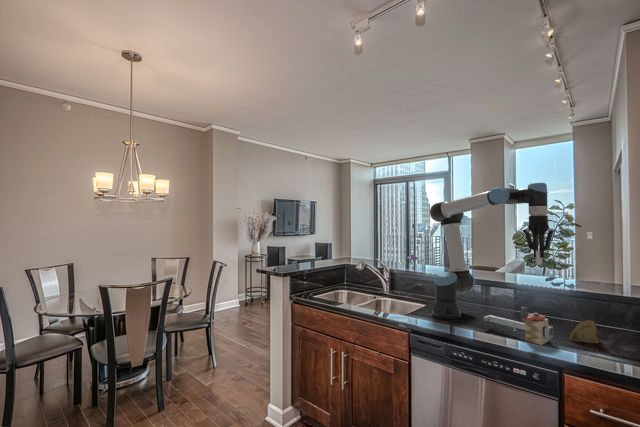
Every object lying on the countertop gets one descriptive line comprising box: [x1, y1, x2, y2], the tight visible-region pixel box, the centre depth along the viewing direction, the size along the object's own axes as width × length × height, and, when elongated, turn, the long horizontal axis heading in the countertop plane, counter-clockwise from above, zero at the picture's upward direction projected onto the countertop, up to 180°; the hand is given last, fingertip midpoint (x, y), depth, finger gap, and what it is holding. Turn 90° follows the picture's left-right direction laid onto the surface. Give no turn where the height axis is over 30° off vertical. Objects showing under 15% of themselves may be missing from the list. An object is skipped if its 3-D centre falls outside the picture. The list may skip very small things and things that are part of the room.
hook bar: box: [483, 314, 555, 340], centre depth 144 cm, size 27×6×4 cm, turn 35°
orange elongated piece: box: [520, 306, 546, 322], centre depth 136 cm, size 12×6×6 cm, turn 113°
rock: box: [568, 319, 600, 344], centre depth 137 cm, size 11×9×10 cm
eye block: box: [524, 318, 550, 346], centre depth 137 cm, size 6×8×10 cm
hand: (539, 264), depth 149 cm, fingers closed
